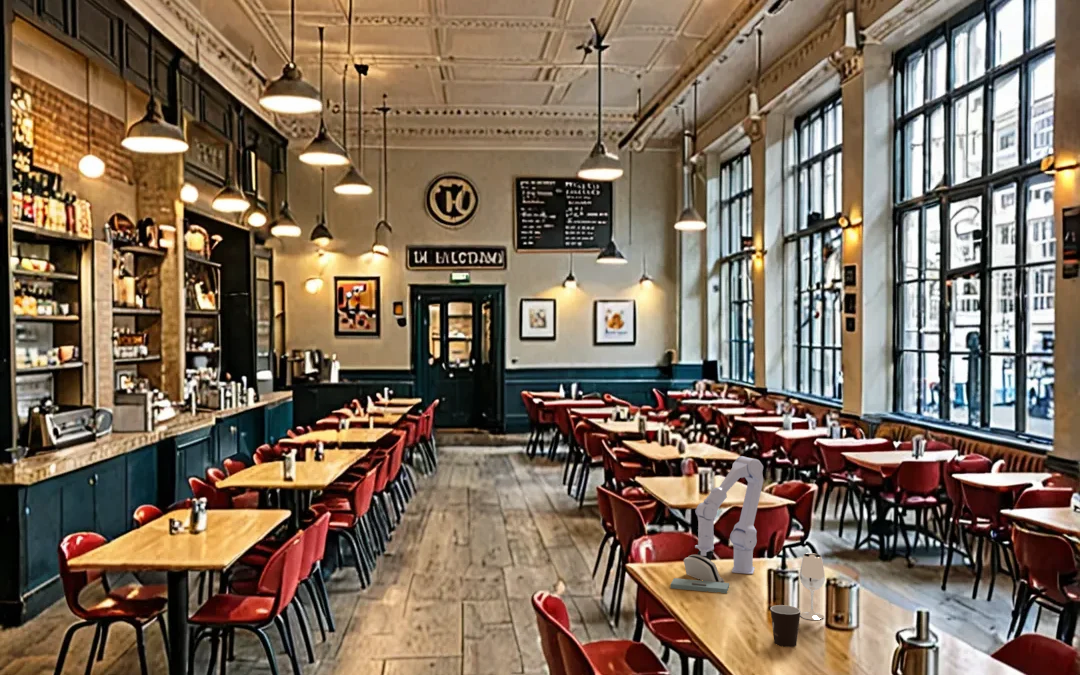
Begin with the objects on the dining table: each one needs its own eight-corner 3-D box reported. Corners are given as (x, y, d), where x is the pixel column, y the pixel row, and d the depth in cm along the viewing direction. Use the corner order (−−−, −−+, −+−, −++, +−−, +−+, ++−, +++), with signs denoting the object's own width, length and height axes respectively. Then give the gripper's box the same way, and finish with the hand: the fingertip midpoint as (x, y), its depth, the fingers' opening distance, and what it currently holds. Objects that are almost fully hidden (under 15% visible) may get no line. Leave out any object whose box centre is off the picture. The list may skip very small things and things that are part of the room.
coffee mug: (795, 650, 252) (795, 616, 252) (766, 644, 257) (766, 610, 257) (806, 638, 262) (806, 605, 262) (778, 633, 267) (778, 600, 267)
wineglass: (828, 616, 283) (829, 555, 283) (818, 622, 278) (818, 559, 278) (806, 611, 289) (806, 551, 289) (795, 616, 283) (795, 555, 283)
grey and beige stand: (725, 583, 321) (718, 559, 319) (715, 589, 319) (708, 564, 317) (696, 572, 335) (689, 549, 334) (687, 578, 333) (680, 554, 332)
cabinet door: (674, 582, 322) (674, 576, 322) (729, 587, 316) (729, 581, 316) (670, 588, 314) (670, 582, 314) (726, 593, 308) (726, 587, 308)
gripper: (697, 530, 339) (697, 564, 339) (692, 538, 326) (692, 574, 326) (716, 531, 337) (716, 566, 337) (711, 539, 323) (711, 576, 323)
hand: (705, 570), depth 331 cm, fingers closed
